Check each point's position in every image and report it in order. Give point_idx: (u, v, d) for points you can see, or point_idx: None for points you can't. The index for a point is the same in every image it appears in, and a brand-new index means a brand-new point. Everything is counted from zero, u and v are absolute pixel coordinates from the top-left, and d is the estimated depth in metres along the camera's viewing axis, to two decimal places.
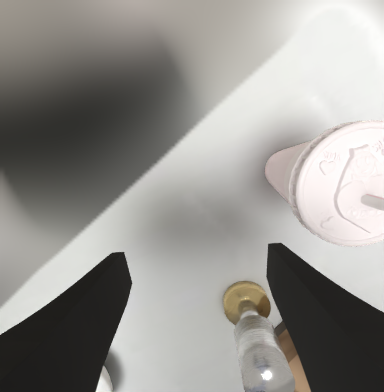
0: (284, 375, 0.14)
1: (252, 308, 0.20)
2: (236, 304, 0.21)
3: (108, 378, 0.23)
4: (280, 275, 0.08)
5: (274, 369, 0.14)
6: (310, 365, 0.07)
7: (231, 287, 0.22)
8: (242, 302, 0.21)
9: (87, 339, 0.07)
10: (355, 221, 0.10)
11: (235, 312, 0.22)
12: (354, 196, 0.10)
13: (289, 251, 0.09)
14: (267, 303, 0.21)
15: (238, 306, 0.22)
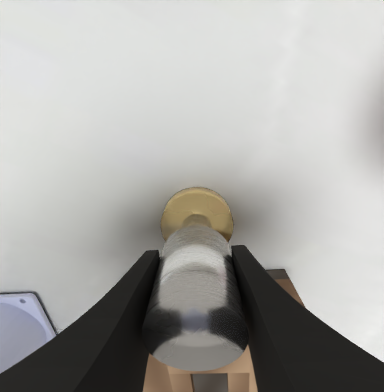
0: (234, 342, 0.07)
1: None
2: (190, 211, 0.13)
3: None
4: (238, 277, 0.09)
5: (232, 325, 0.07)
6: (256, 366, 0.07)
7: (201, 189, 0.14)
8: (199, 215, 0.13)
9: (136, 338, 0.07)
10: None
11: (179, 219, 0.13)
12: None
13: (248, 253, 0.09)
14: None
15: (189, 215, 0.13)
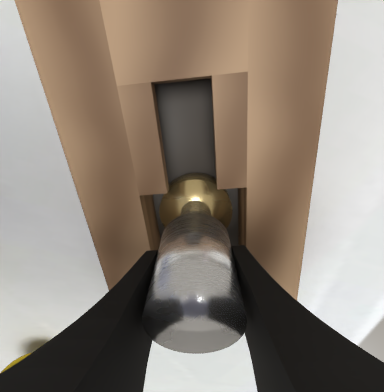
0: (233, 327, 0.07)
1: None
2: (189, 197, 0.13)
3: None
4: (238, 277, 0.09)
5: (231, 312, 0.07)
6: (256, 366, 0.07)
7: (200, 174, 0.13)
8: (198, 201, 0.13)
9: (136, 338, 0.07)
10: None
11: (178, 206, 0.13)
12: None
13: (248, 253, 0.09)
14: None
15: (188, 202, 0.13)
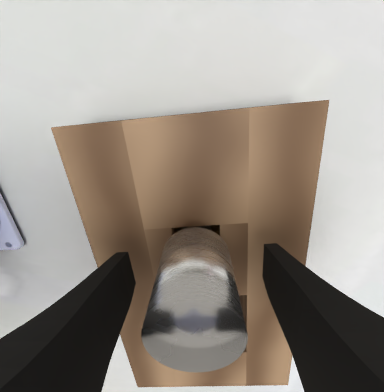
0: (233, 343, 0.07)
1: None
2: None
3: None
4: (275, 275, 0.08)
5: (232, 326, 0.07)
6: (304, 365, 0.07)
7: None
8: None
9: (93, 339, 0.07)
10: None
11: None
12: None
13: (284, 251, 0.09)
14: None
15: None
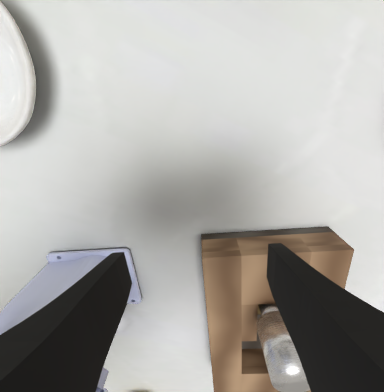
0: None
1: None
2: None
3: (32, 111, 0.15)
4: (280, 275, 0.08)
5: None
6: (310, 365, 0.07)
7: None
8: None
9: (87, 339, 0.07)
10: None
11: None
12: None
13: (289, 251, 0.09)
14: None
15: None
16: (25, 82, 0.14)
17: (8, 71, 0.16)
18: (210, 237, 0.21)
